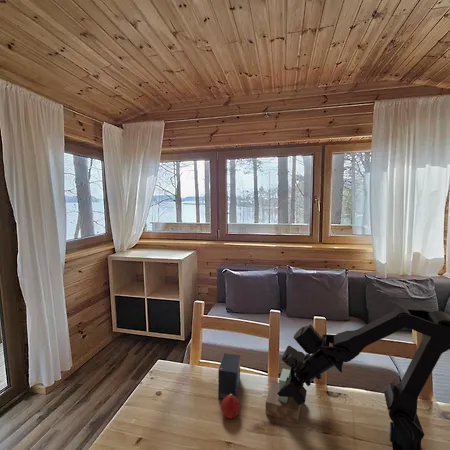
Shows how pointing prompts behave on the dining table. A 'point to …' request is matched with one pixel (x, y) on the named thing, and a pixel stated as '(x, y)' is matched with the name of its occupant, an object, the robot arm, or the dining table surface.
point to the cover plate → (282, 383)
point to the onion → (230, 406)
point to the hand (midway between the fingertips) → (280, 387)
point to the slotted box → (282, 406)
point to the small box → (229, 375)
